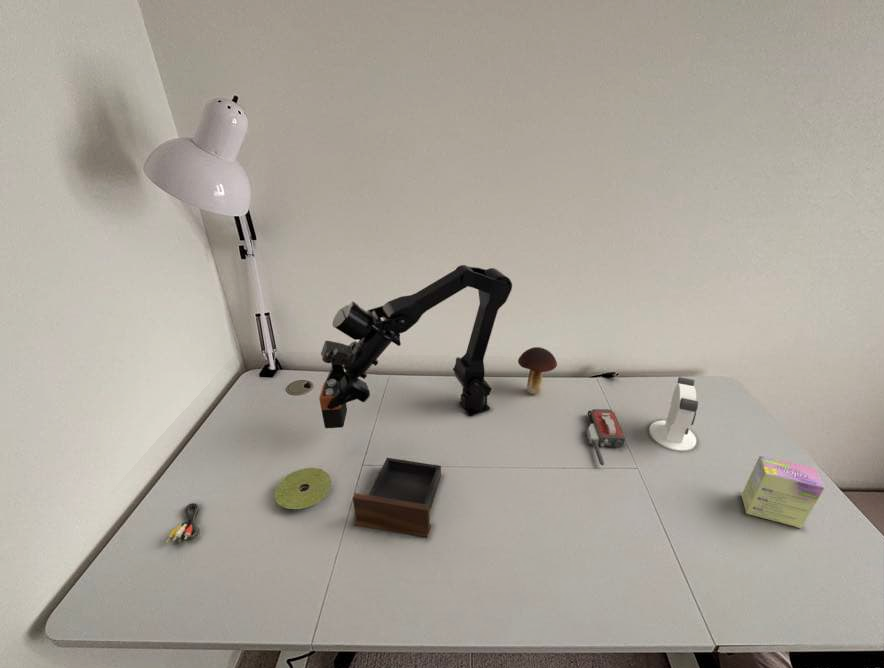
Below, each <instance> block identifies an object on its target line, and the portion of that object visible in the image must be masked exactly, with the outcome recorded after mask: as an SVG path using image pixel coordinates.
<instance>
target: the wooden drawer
mask: <svg viewBox="0 0 884 668" xmlns="http://www.w3.org/2000/svg"><path fill="white" fill-rule="evenodd" d="M441 479H442V466H441V465H439V464H432V463H424V462H419V461H412V460H405V459H400V458H393V457H386V459H385V461H384V462H383V465H382V467H381V468H380V471H379V472H378V475H377V477H376V479H375V480H374V483H373V485H372V487H371V489H370V491H369V493H368V494H363V493H357V492H354V494H353V496H352V503H353V509H354V515H355V516H354V517H355V521H354V523H353V524H354V526H357V527H362V528H368V529H375V530H379V531H385V532H389V533H397V534H401V535H408V536H413V537H419V538H425V539H428V537H429V534H430V531H431V528H432V524H431V521H430V517H431V516H430V512H431V509H432V506H433V503H434V500H435V497H436V493H437V492H438V491H437V490H438V488H439V484H440V481H441Z"/></svg>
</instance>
